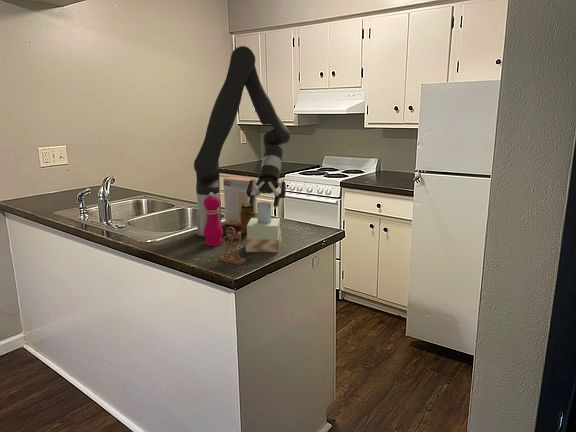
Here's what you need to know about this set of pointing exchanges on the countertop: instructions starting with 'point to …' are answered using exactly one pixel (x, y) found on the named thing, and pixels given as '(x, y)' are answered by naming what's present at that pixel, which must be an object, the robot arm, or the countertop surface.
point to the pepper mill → (212, 221)
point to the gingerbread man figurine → (227, 256)
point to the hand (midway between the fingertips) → (263, 206)
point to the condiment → (246, 218)
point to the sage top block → (263, 229)
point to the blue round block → (264, 212)
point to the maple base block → (263, 244)
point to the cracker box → (236, 199)
